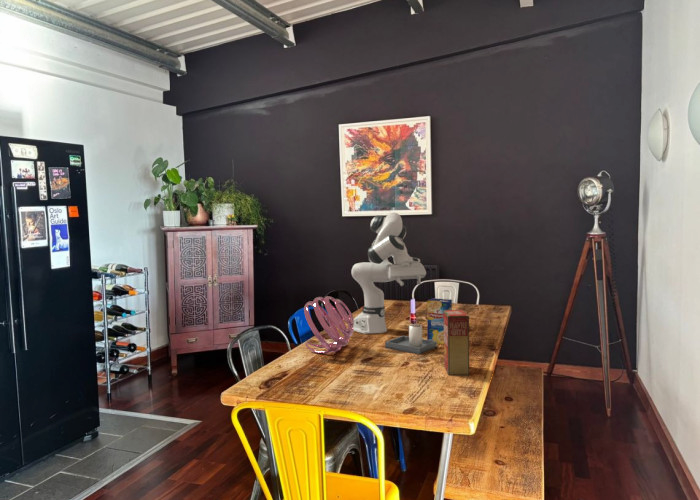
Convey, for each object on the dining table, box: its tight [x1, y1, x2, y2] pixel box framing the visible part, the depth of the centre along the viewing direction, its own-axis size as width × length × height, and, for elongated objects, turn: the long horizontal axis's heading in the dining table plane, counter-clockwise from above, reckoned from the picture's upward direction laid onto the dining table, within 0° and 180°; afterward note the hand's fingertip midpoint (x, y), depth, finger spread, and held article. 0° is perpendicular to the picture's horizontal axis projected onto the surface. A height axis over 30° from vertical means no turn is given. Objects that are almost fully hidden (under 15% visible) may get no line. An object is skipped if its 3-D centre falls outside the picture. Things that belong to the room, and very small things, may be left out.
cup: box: [408, 323, 423, 348], centre depth 252 cm, size 6×6×11 cm
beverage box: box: [426, 297, 453, 345], centre depth 266 cm, size 7×11×22 cm, turn 62°
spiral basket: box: [303, 295, 354, 355], centre depth 253 cm, size 28×28×27 cm
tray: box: [384, 335, 438, 355], centre depth 257 cm, size 20×16×3 cm
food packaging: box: [443, 309, 470, 376], centre depth 219 cm, size 13×9×25 cm
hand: (410, 284), depth 264 cm, fingers open, 8 cm apart
